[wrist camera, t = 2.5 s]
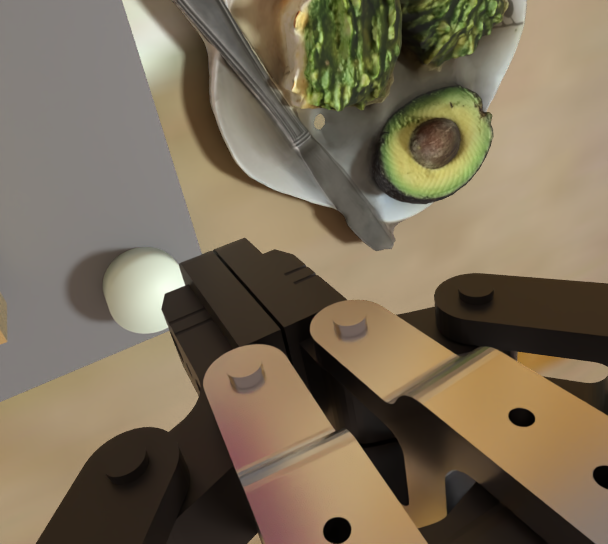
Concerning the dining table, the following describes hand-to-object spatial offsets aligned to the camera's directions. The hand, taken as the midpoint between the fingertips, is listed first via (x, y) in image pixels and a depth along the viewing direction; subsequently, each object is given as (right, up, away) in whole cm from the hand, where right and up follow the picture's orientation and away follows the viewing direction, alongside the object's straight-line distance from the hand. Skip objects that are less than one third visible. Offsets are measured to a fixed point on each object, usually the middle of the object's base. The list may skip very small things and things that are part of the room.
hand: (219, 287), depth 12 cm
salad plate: (+5, +11, +17) cm, 21 cm away
